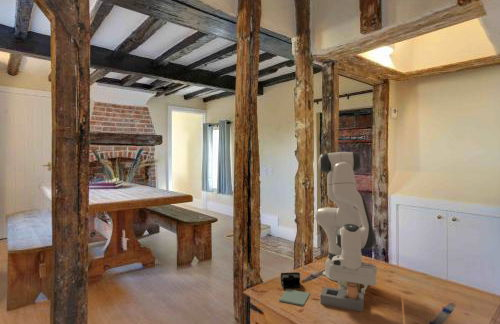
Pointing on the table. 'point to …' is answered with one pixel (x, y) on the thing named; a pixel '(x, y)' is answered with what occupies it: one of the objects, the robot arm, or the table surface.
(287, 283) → the end cap
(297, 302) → the mat
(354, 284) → the plug
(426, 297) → the table surface
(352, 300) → the grey holed block
